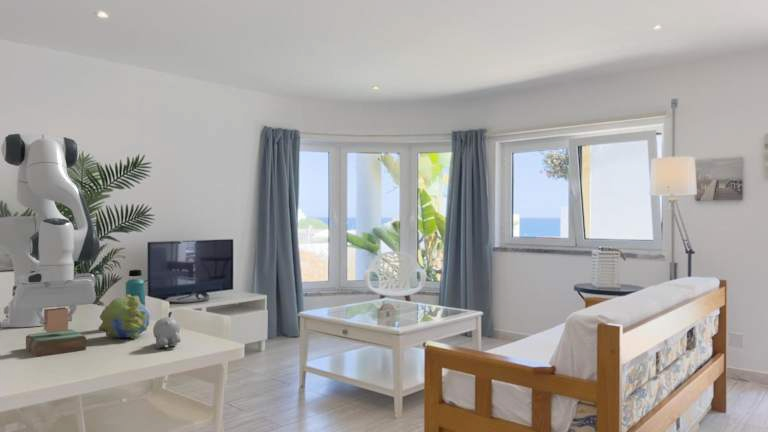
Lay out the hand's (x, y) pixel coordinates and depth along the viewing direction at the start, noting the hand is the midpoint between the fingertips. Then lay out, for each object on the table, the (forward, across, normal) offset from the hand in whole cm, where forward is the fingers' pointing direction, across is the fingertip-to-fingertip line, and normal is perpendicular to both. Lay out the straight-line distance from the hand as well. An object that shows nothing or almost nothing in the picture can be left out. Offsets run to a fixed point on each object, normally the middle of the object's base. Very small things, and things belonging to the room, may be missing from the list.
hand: (55, 322), depth 157 cm
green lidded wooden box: (+8, 0, 0) cm, 8 cm away
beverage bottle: (+8, -29, -20) cm, 36 cm away
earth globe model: (+8, -20, -2) cm, 21 cm away
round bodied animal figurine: (+8, -24, +19) cm, 31 cm away
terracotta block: (+2, 0, 0) cm, 2 cm away
